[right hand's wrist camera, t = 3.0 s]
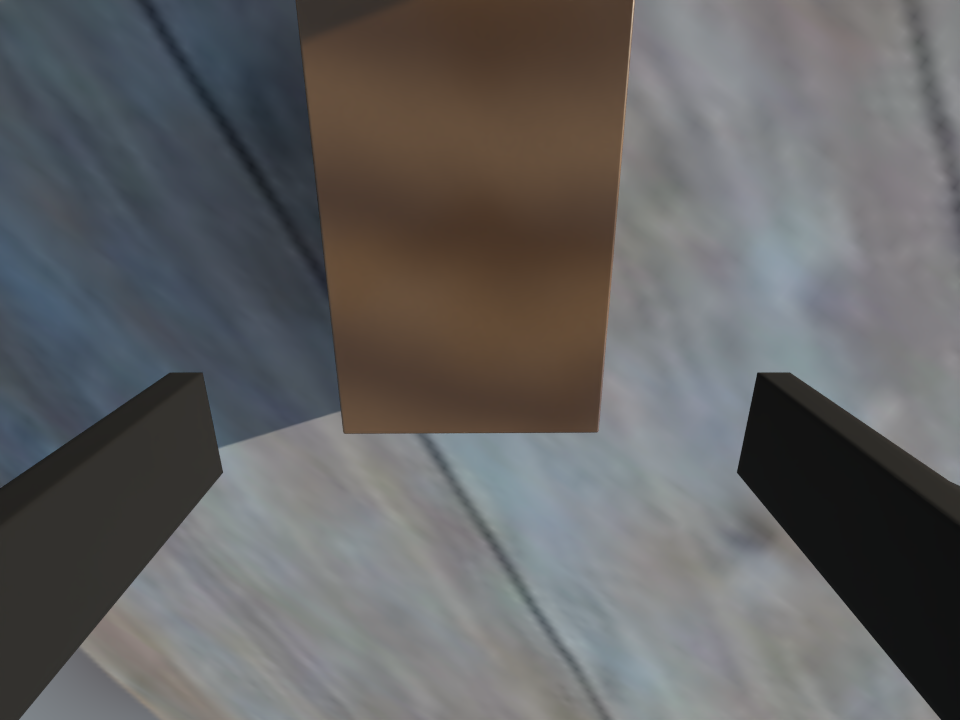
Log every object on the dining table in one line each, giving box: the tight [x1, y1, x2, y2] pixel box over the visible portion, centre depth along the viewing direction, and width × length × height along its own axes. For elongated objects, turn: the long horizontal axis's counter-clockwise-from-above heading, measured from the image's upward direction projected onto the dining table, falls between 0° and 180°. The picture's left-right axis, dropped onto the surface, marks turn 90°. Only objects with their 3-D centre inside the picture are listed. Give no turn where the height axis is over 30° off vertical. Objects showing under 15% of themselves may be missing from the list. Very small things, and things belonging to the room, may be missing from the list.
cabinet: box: [296, 0, 635, 434], centre depth 23 cm, size 17×10×11 cm, turn 0°
